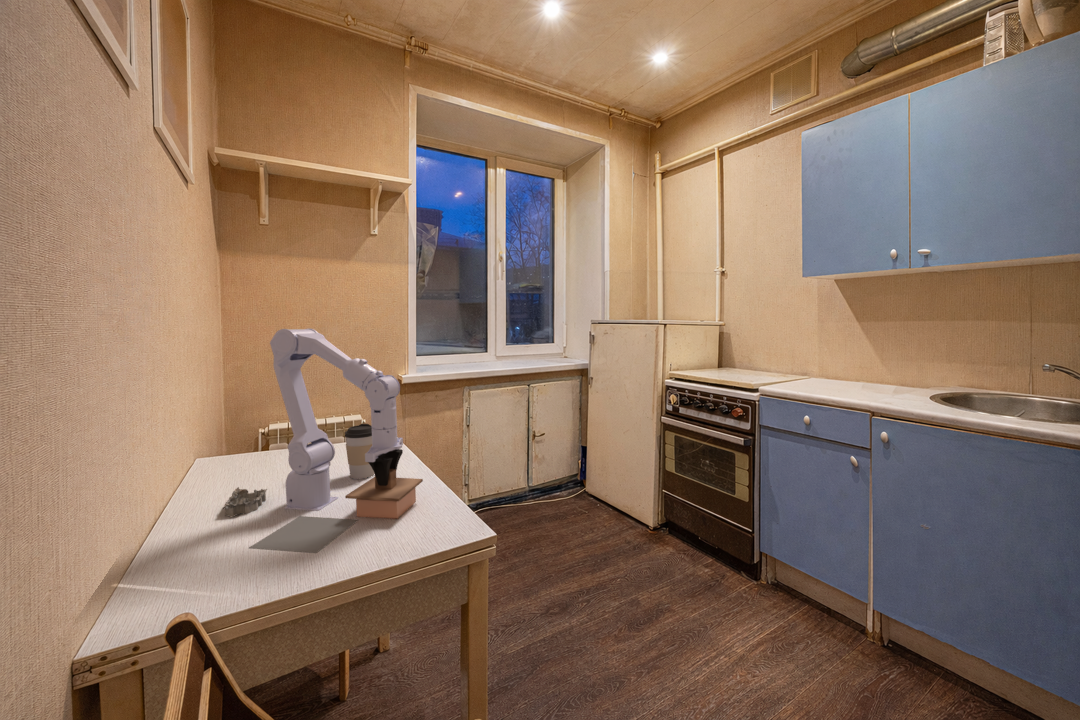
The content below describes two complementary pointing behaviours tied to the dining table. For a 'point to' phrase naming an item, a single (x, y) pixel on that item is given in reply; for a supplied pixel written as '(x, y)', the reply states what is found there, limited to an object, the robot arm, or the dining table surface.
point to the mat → (305, 534)
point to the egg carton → (244, 501)
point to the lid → (385, 488)
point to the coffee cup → (359, 450)
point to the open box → (385, 507)
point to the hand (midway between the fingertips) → (386, 482)
